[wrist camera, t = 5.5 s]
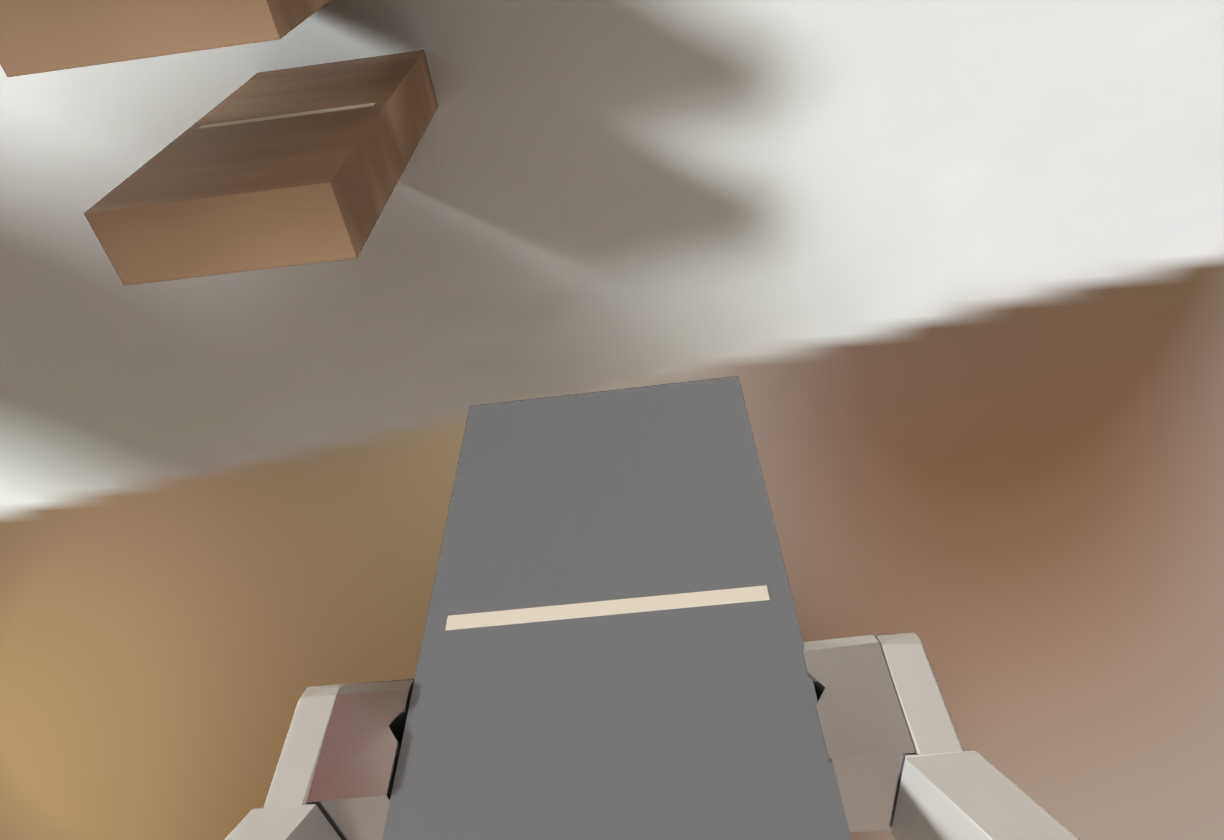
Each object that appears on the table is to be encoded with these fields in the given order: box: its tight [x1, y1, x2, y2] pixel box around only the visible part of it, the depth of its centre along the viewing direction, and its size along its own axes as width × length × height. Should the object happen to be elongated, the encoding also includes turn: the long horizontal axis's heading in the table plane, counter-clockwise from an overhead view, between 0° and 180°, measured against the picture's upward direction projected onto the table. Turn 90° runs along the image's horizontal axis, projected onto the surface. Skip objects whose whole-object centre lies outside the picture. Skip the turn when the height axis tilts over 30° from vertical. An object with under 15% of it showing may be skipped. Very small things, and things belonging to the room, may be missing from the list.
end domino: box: [382, 376, 851, 840], centre depth 11 cm, size 2×5×10 cm, turn 98°
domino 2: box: [84, 50, 438, 286], centre depth 20 cm, size 2×5×10 cm, turn 97°
